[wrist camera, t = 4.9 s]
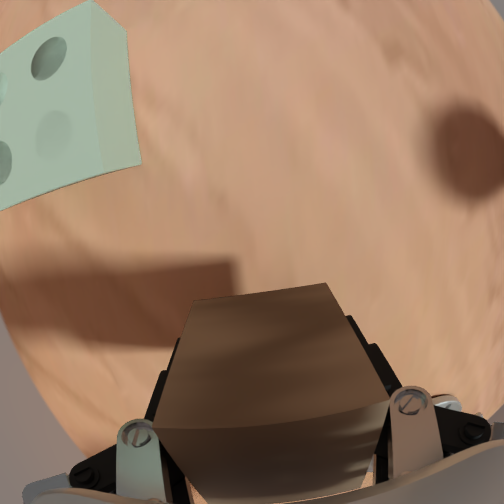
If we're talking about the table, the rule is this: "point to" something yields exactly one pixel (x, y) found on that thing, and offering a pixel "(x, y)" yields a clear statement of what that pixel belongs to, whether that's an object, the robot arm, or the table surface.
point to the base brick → (65, 105)
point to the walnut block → (271, 399)
